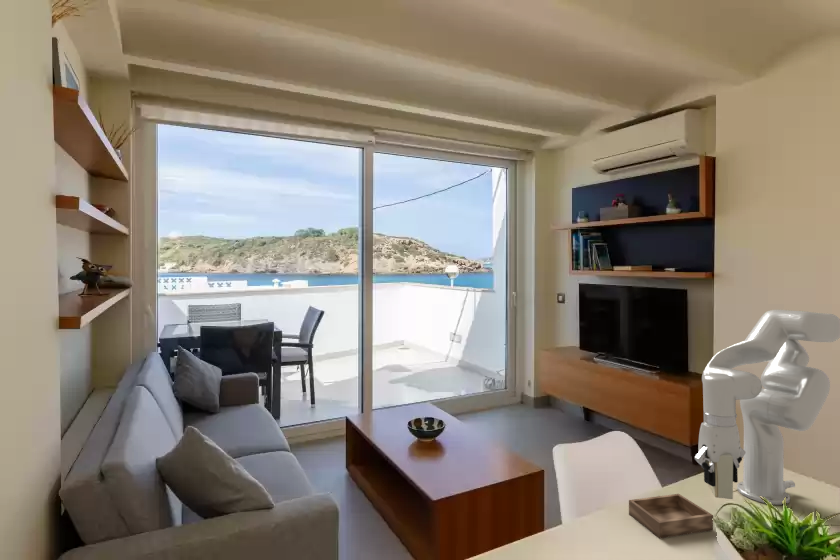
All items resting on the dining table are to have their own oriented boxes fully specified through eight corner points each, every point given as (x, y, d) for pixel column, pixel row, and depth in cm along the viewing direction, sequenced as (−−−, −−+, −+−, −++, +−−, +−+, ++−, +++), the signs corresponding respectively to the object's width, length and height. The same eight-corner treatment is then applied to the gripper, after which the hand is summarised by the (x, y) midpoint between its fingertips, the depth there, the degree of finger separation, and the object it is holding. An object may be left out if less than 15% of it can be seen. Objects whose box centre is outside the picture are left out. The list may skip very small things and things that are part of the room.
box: (678, 507, 129) (678, 493, 129) (713, 530, 118) (713, 515, 117) (628, 514, 125) (628, 500, 125) (659, 538, 114) (659, 522, 114)
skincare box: (708, 487, 131) (707, 445, 130) (726, 488, 129) (725, 446, 129) (715, 498, 125) (714, 454, 124) (734, 500, 123) (733, 456, 123)
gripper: (733, 411, 132) (734, 471, 132) (682, 418, 128) (683, 480, 129) (757, 419, 124) (758, 483, 125) (704, 427, 121) (705, 493, 121)
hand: (720, 481), depth 127 cm, fingers closed on skincare box, 6 cm apart
